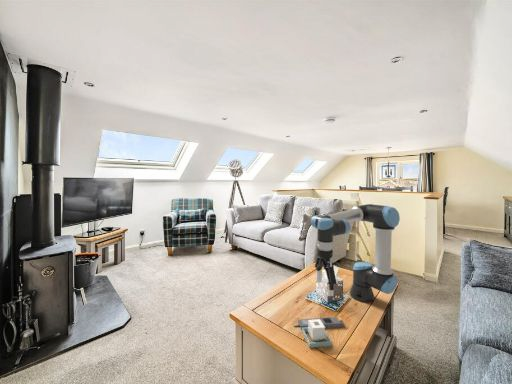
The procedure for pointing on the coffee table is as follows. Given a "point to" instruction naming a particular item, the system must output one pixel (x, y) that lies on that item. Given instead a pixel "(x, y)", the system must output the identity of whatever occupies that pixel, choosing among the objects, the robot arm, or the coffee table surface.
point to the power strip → (326, 322)
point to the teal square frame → (316, 344)
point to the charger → (316, 329)
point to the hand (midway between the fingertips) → (324, 288)
